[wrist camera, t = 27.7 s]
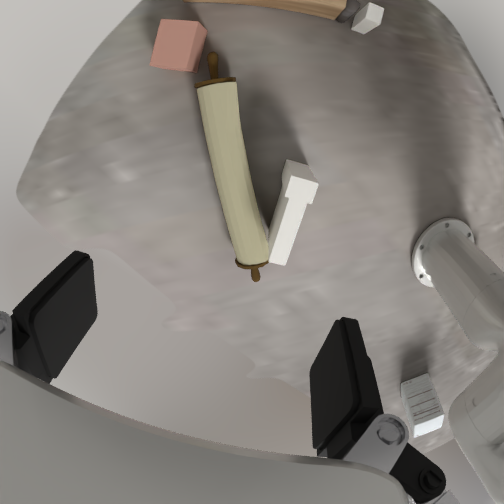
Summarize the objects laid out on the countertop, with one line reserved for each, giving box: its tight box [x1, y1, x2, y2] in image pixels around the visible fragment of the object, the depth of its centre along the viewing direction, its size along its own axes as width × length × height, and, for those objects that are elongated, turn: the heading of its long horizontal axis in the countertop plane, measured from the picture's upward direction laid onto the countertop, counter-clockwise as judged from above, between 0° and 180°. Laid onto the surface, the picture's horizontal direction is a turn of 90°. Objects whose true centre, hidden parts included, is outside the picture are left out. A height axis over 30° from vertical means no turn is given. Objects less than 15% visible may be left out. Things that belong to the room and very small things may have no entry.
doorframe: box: [268, 2, 384, 266], centre depth 32 cm, size 5×33×9 cm, turn 166°
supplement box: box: [401, 373, 444, 438], centre depth 54 cm, size 7×7×13 cm
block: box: [150, 19, 208, 73], centre depth 29 cm, size 4×6×6 cm
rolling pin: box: [194, 52, 269, 282], centre depth 37 cm, size 32×6×5 cm, turn 10°
